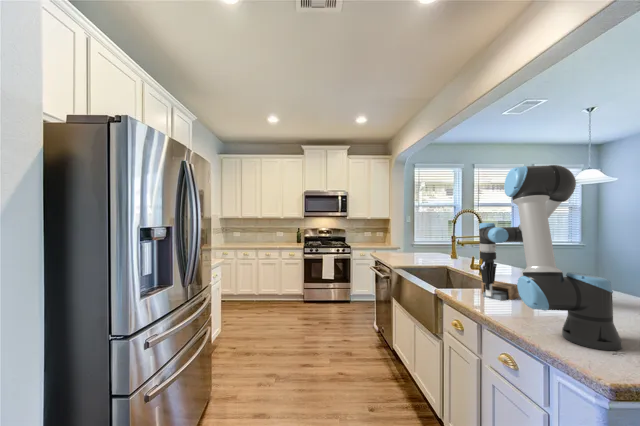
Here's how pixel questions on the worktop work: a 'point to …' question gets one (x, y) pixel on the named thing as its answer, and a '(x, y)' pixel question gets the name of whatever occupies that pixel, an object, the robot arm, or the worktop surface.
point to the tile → (497, 295)
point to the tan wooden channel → (503, 288)
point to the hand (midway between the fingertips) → (489, 295)
